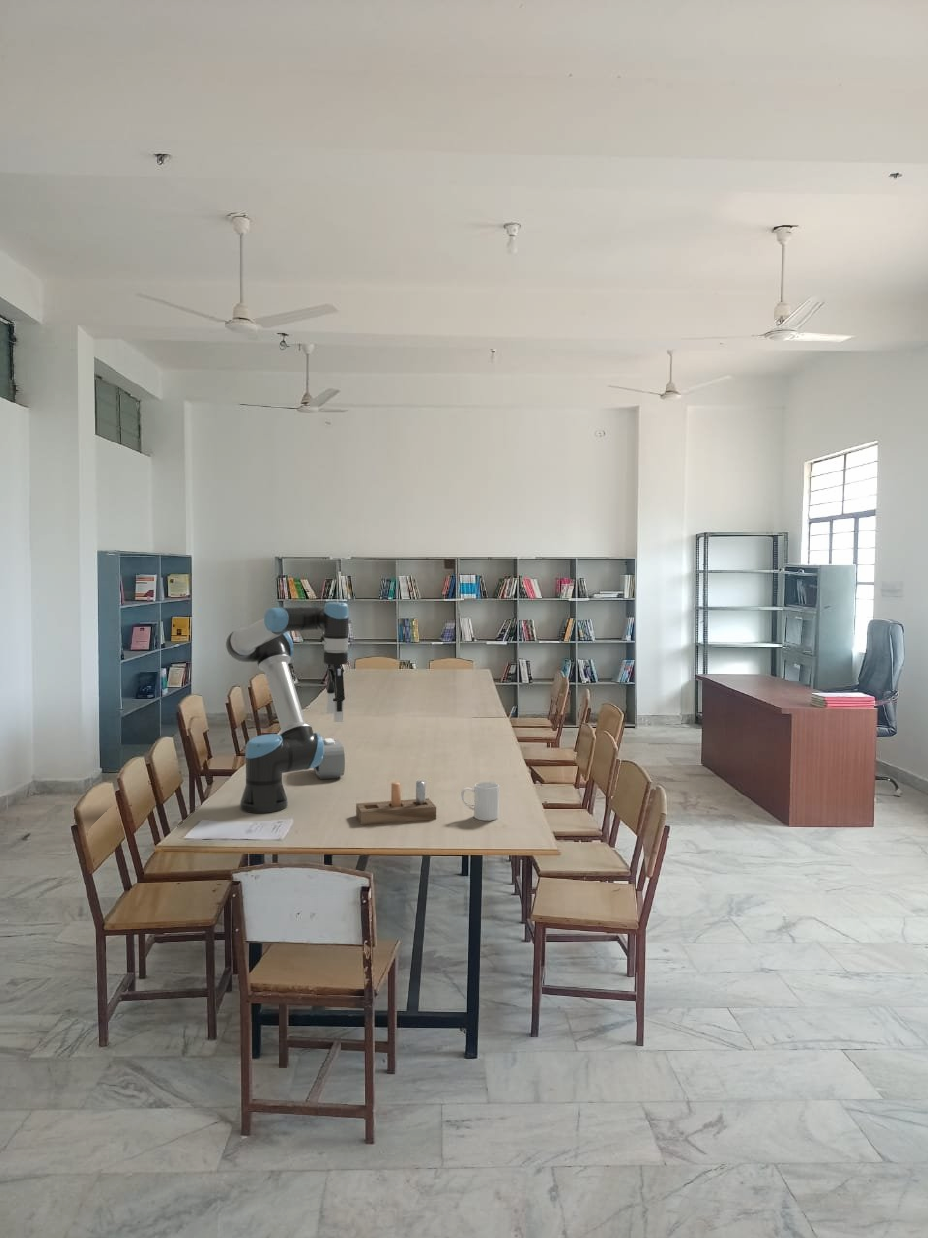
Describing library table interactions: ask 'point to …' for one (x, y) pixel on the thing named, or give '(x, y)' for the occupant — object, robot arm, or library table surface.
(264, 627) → the robot arm
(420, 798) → the grey peg
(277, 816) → the library table surface
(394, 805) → the orange rounded rod
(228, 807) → the library table surface
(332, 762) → the alarm clock
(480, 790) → the mug
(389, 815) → the hole block
